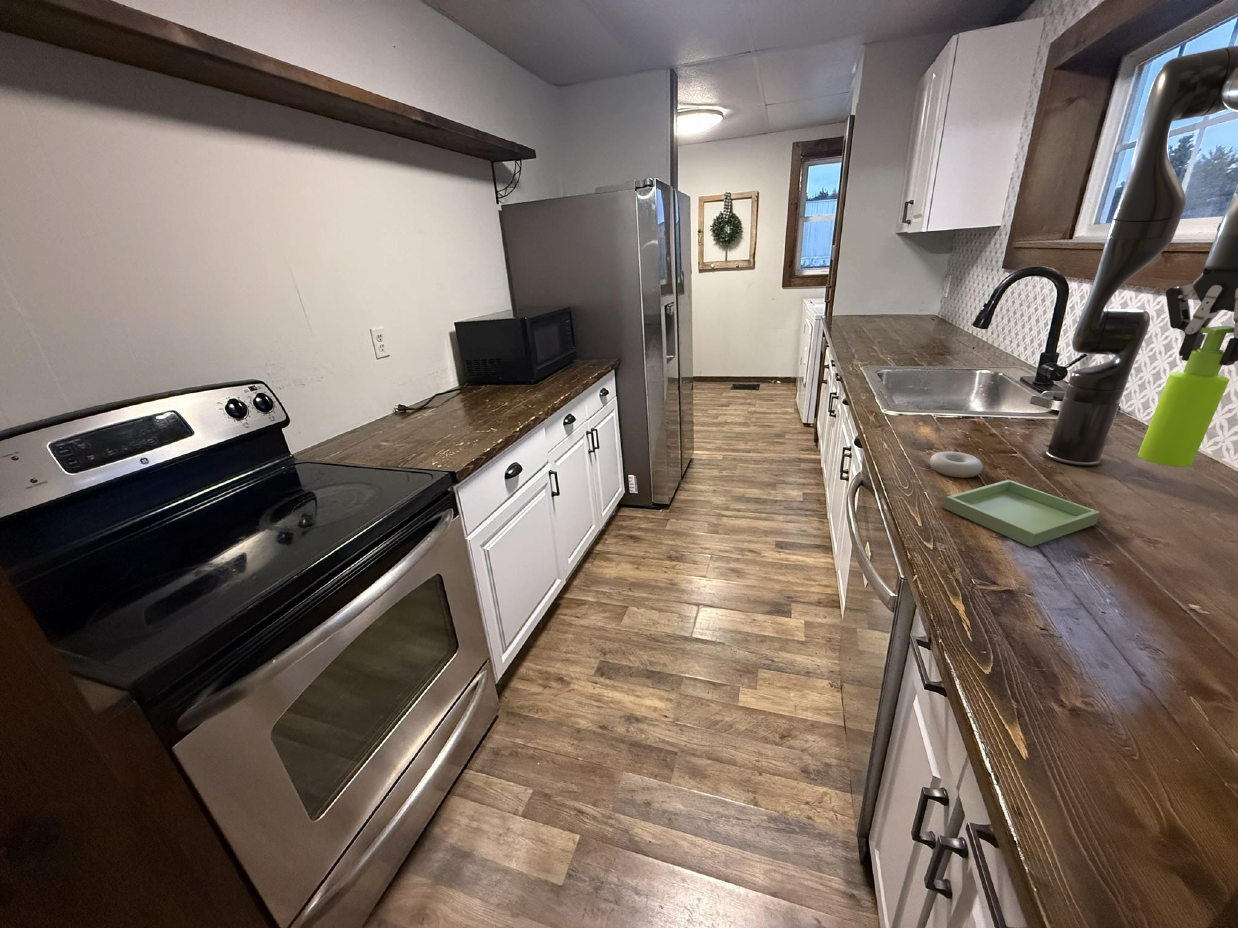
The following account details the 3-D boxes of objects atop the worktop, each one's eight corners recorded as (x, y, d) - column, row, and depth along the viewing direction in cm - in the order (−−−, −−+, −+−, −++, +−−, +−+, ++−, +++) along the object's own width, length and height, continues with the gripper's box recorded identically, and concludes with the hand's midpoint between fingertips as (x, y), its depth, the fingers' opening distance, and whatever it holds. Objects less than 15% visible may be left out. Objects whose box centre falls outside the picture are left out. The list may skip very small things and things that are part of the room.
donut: (937, 479, 108) (989, 480, 106) (940, 465, 107) (993, 466, 105) (921, 462, 117) (969, 463, 115) (924, 448, 116) (972, 449, 114)
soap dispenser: (1210, 465, 74) (1274, 329, 66) (1163, 467, 74) (1221, 331, 67) (1171, 451, 80) (1225, 323, 72) (1127, 452, 80) (1176, 325, 72)
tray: (1005, 490, 102) (1008, 479, 101) (1096, 524, 88) (1100, 511, 87) (943, 508, 96) (946, 496, 95) (1030, 547, 83) (1034, 534, 82)
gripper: (1363, 225, 60) (1295, 368, 66) (1201, 233, 72) (1157, 352, 79) (1334, 227, 57) (1266, 374, 64) (1172, 234, 70) (1129, 357, 76)
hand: (1206, 361), depth 71 cm, fingers closed on soap dispenser, 3 cm apart
